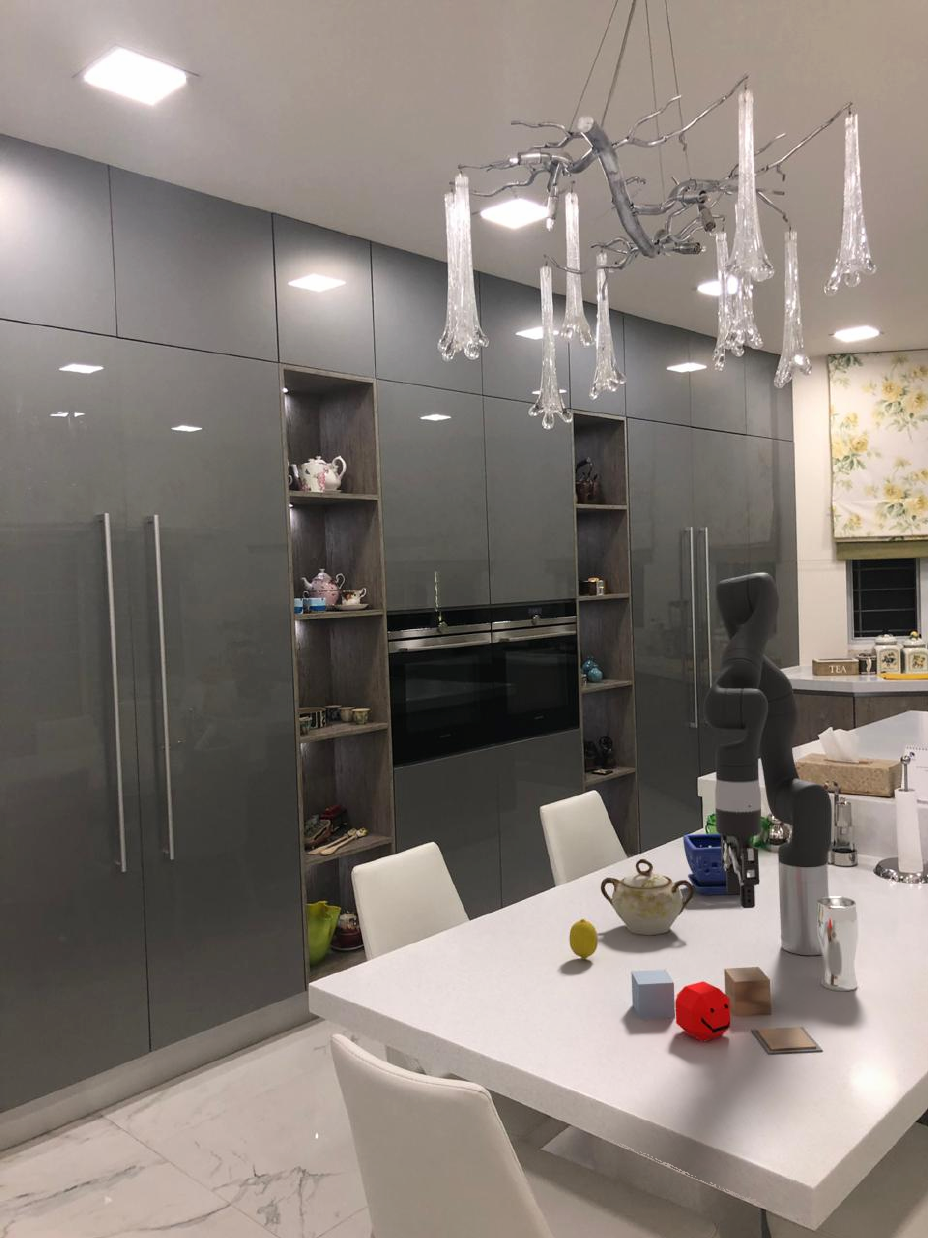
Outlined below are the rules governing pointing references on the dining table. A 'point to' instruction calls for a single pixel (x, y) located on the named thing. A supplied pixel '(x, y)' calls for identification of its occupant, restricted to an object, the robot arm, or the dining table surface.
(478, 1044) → the dining table surface
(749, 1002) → the walnut cube
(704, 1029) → the ball
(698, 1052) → the dining table surface
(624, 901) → the sugar bowl
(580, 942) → the lemon
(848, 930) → the beer glass
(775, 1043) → the walnut swatch
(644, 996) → the slate cube
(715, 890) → the flower pot
